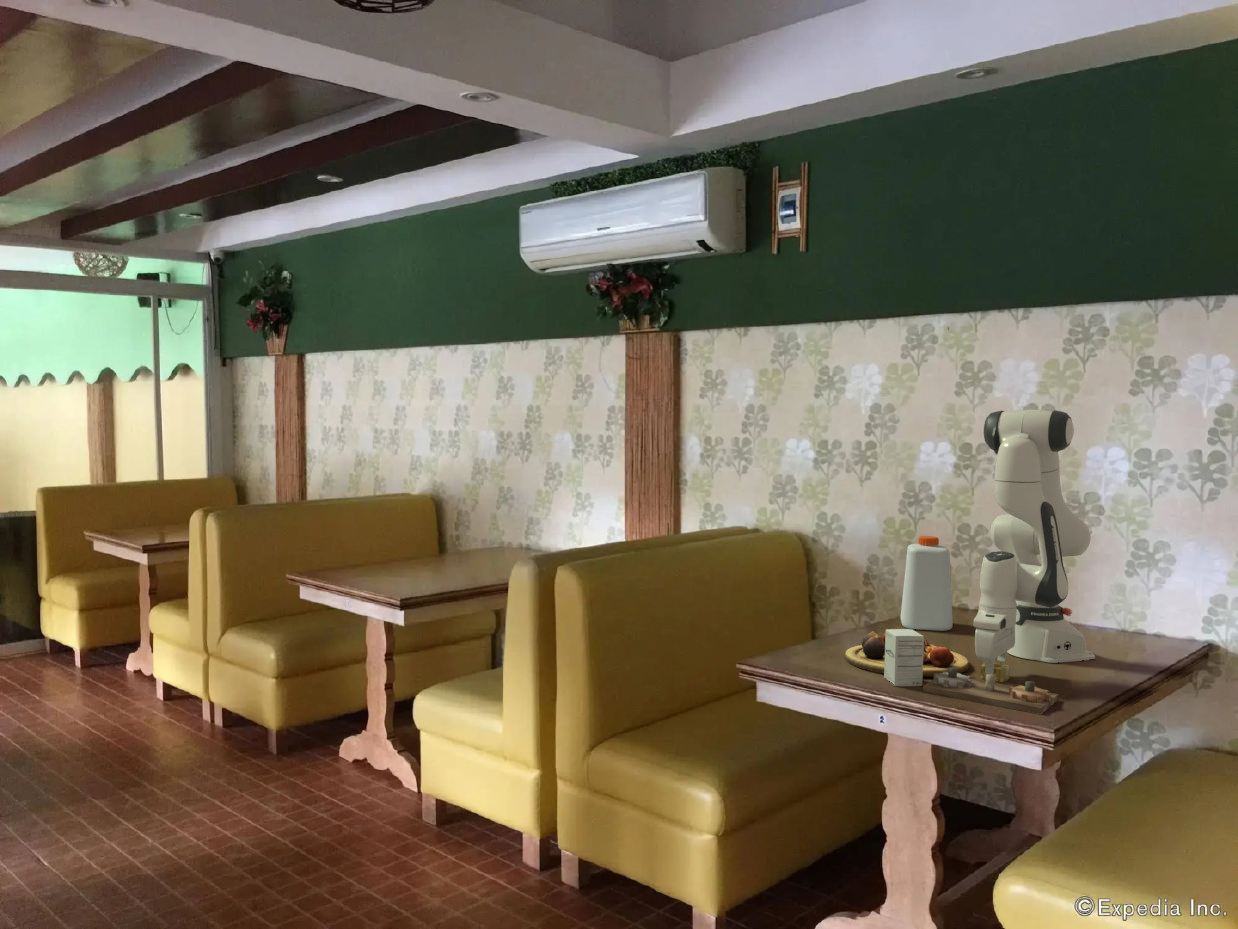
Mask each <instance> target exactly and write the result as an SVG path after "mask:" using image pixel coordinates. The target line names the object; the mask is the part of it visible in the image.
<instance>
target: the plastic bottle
mask: <svg viewBox="0 0 1238 929" xmlns="http://www.w3.org/2000/svg"><path fill="white" fill-rule="evenodd" d="M917 542H918V543H911V544H909V545H908V546H907V548H906V558H905V559H906V561H905V571H904V578H903V587H902V599H901V610H900V623H901V624H902V626H903V627H904V628H905V629H913V630H915V629H916V630H917V631H918V630H919V631H931V632H933V631H935V632H936V631H937V632H946V631H950V630H951V629H952V628H953V605H952V604H953V603H952V602H953V601H952V581H951V579H952V578H951V575H952V574H951V556H950V555H951V554H950V550H949V548H948V547H947V546H945V545H942V544H939V542H940V539H939V537H938V536H932V535H921V536H919V537H918V541H917Z"/></svg>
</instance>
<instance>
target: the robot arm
mask: <svg viewBox="0 0 1238 929" xmlns="http://www.w3.org/2000/svg"><path fill="white" fill-rule="evenodd" d="M983 424H984V425H983V428H982V429H983V432H982V433H983V439H984V443H985V444H986V445H987V447H988V448H989V449H990V450H992V451H993V452H994V454H995V455H996V460H995V465H994V466H995V467H994V482H993V483H994V484H993V485H994V486H993V488H994V489H993V491H994V498H995V501H996V503H997V505H998V506H999V507H1000V508H1001V509H1002V510H1003V511H1004V512H1005V513H1006V514H1000V515H998V516H997V517H995V519H994V520H993V522H992V523H991V526H990V531H989V533H990V539H991V541H992V543H993V544H994V546H995V547H996V548H997V549H998V550H997V551H991V552H988V553H986V554H985V555H984V556H983V559H982V562H981V569H980V576H979V577H980V578H979V590H980V598H979V602H978V611H977V614H976V616H975V617H974V619H973V627H974V628H975V633H974V649H975V651H974V652H975V655H976V658H977V660H983V663H985V667H986V674H992V675H993V674H994V673H995V667H994V663H1000V664H1005V665H1006V659H1007V656H1008V654H1010V655H1012V656H1014V657H1017V658H1021V659H1026V660H1033V661H1038V662H1039V661H1040V662H1044V663H1049V664H1058V662H1059V663H1070V662H1080V661H1081V662H1083V661H1082V660H1084V661H1090V660H1089V659H1095V660H1096V656H1095V654H1094V653H1093V652H1092V651H1089V650H1087V644H1086V639H1085V636H1084V635H1083V634H1082V632H1080V630H1078V629H1077V628H1076V627H1074V626H1073V625H1072V624H1071V623H1069V621H1067V620H1066V619H1065V616H1067V617H1071V616H1072V614H1073V610H1072V609H1071V608H1068V607H1062V606H1061V605H1060V604H1061V603H1062V602H1064V601H1065V599H1066V598H1067V597H1068V593H1069V582H1068V576H1067V574H1066V570H1065V567H1064V562H1063V558H1066V557H1067V558H1068V557H1077V556H1081V555H1083V554H1084V553H1085V552H1086V551H1087V550H1088V548H1089V547H1090V545H1091V544H1090V543H1091V531H1090V529H1089V527H1088V525H1087V523H1085V522H1084V521H1083V520H1082V519H1080V518H1079V517H1078V516H1077V515H1076V514H1074V512H1073V511H1071V509H1070V508H1069V506H1068V505H1067V503H1066V501H1065V499H1064V497H1063V494H1062V487H1061V475H1060V473H1061V472H1060V457H1059V452H1060V451H1063V450H1065V449H1067V448H1068V447H1069V446H1070V445H1071V443H1072V440H1073V437H1074V433H1075V431H1074V430H1075V429H1074V424H1073V420H1072V417H1071V416H1070V415H1069V414H1068V412H1065V411H1061V410H1055V409H1054V410H1053V411H1051V410H1045V409H1028V408H1027V409H1017V410H1007V411H1004V410H997V411H993V412H990V413H989V414H988V416H986V418H985V420H984V423H983ZM999 550H1000V551H999ZM1038 555H1040V560H1041V562H1040V560H1039V558H1038ZM996 658H997V660H996V662H995V659H996Z"/></svg>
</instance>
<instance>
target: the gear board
mask: <svg viewBox="0 0 1238 929" xmlns="http://www.w3.org/2000/svg"><path fill="white" fill-rule="evenodd" d="M1024 683H1025V684H1024V685H1023V684H1022V685H1021V684H1018V685H1017V686H1014V685H1009V684H1003V683H1000V682H999V683H998V682H996V681H995V675H992V674H986V679H985V680H983V679H982V680H981V679H977V678H975V679H974V678H972V677H971V676H970V675H965V674H962V673H957V669H956V668H948V673H947V672H942V673H939V674H937V673H935V674H934V677H933V680H931V681H929V682H927V683H926V684H923V685H922V692H923V693H928V694H932V693H934V694H933V695H937V694H938V695H937V696H942V695H944V696H943V697H947V696H948V698H952V697H953V699H958V700H963V699H965V700H964V701H968V700H969V702H973V701H974V702H973V703H978V702H979V704H984V705H989V706H994V705H995V707H999V706H1000V708H1004V707H1006V708H1005V709H1009V708H1010V710H1014V709H1015V710H1016V711H1020V710H1022V711H1021V712H1025V711H1030V712H1034V713H1033V714H1035V713H1039V714H1038V715H1040V714H1041V713H1042V712H1044V711H1045V712H1046V711H1047V710H1049V707H1050V706H1051V705H1052V706H1054V705H1055V704H1056V703H1058V701H1059V694H1058V693H1054V692H1050V690H1048V689H1043V688H1040V687H1038V686H1036V684H1035V681H1031V680H1027V681H1026V680H1025V682H1024ZM1055 702H1056V703H1055ZM1054 703H1055V704H1054ZM1052 706H1051V707H1052ZM1051 707H1050V708H1051ZM1015 710H1014V711H1015ZM1030 712H1029V713H1030ZM1045 712H1044V713H1045ZM1042 714H1043V713H1042ZM1042 714H1041V715H1042Z"/></svg>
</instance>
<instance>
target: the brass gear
mask: <svg viewBox="0 0 1238 929" xmlns="http://www.w3.org/2000/svg"><path fill="white" fill-rule="evenodd" d="M994 667H995V673H994V674H993V675H995V682H999V683H1004V682H1007V681H1008V680H1009V679H1010V669H1011V668H1010V665H1009V664H1006V663H1005V664H1000V663H996V662H994ZM980 679H982V680H986V667H985V663H984V662H983V663H982V664H981V665H980Z"/></svg>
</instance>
